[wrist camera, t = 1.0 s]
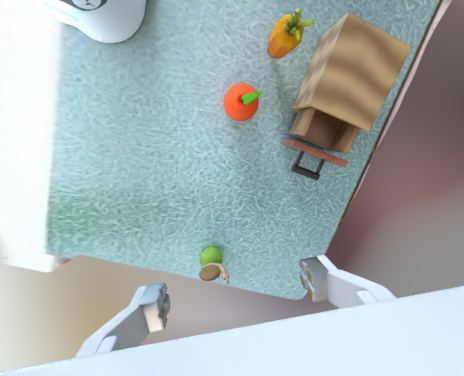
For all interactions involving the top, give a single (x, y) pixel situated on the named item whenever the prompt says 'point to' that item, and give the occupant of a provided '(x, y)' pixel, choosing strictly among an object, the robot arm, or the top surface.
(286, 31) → the carrot
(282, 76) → the top surface
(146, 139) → the top surface
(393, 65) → the cabinet
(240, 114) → the clementine
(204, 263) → the green ball with rod
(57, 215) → the top surface
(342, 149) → the drawer
